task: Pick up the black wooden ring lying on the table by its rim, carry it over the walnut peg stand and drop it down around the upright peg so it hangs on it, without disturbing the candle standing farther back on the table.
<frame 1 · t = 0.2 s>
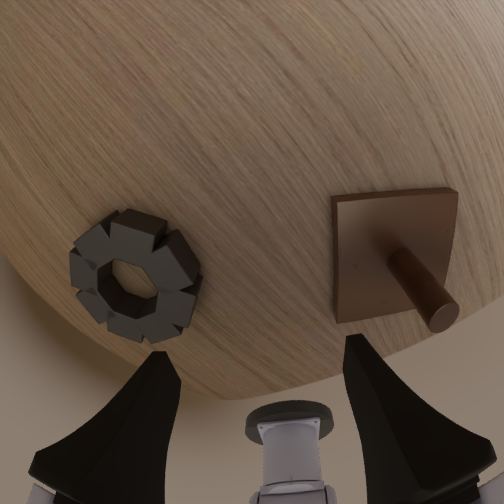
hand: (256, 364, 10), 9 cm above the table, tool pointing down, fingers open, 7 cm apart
ring: (138, 272, 19), on the table
peg stand: (393, 253, 17), on the table
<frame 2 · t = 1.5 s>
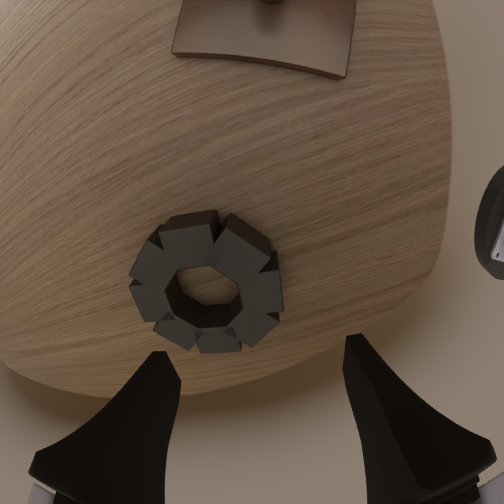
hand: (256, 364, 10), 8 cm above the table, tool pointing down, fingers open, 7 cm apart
ring: (209, 278, 18), on the table
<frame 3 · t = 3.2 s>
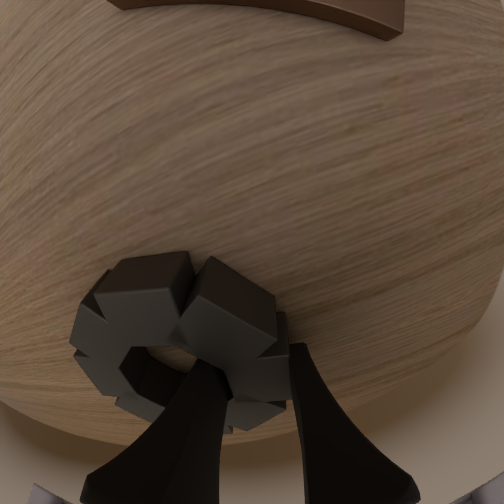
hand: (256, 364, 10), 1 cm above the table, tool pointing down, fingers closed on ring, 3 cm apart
ring: (185, 344, 12), on the table, touching gripper
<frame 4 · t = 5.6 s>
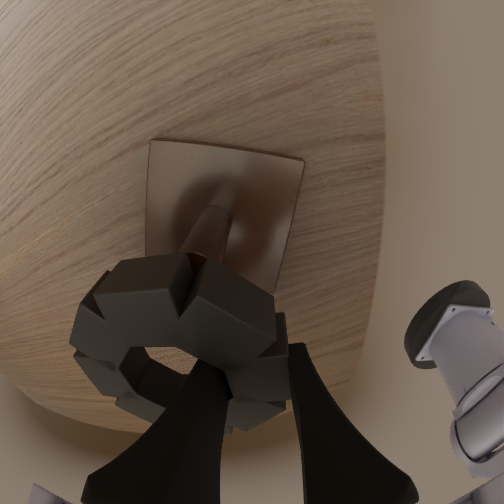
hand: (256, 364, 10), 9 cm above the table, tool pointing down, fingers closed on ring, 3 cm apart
ring: (185, 344, 12), point 8 cm above the table, touching gripper
peg stand: (218, 215, 18), on the table
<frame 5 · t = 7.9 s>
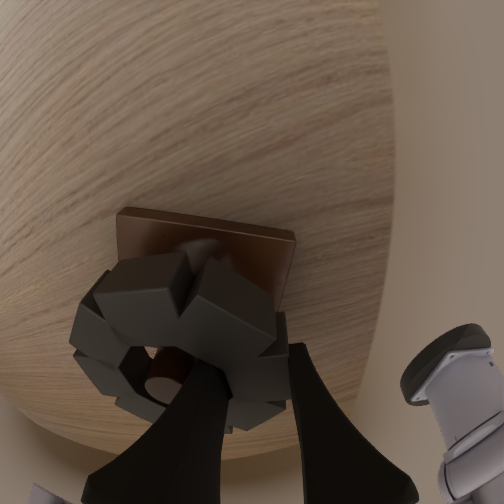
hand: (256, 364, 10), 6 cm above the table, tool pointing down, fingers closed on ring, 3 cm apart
ring: (185, 343, 12), point 4 cm above the table, touching gripper
peg stand: (199, 290, 16), on the table
when the fingers open (7 cm above the table, at t = 10.8 s): ring drops 4 cm, resting on peg stand.
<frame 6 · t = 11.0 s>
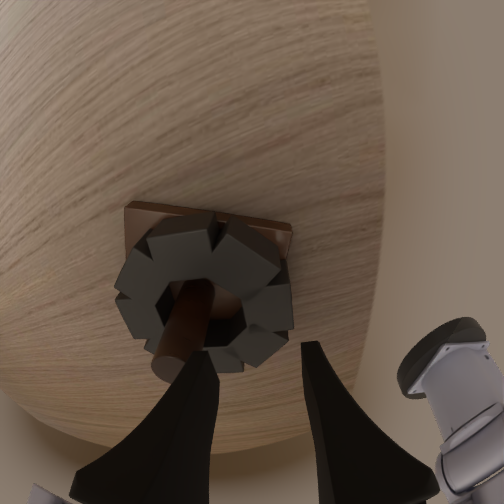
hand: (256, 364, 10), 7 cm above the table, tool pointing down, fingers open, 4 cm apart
ring: (207, 290, 16), point 1 cm above the table, touching peg stand
peg stand: (201, 280, 17), on the table
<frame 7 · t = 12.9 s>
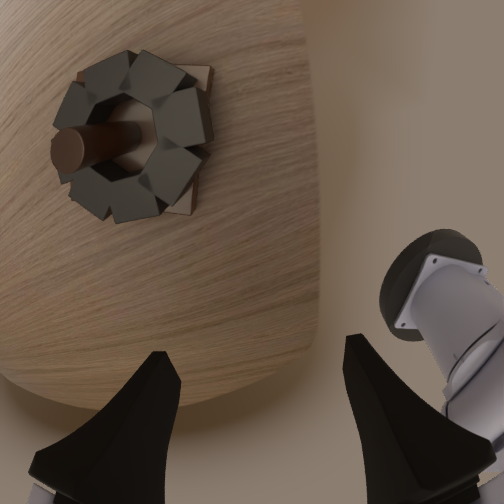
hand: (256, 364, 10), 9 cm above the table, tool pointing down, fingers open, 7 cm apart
ring: (134, 134, 14), point 1 cm above the table, touching peg stand
peg stand: (135, 135, 15), on the table
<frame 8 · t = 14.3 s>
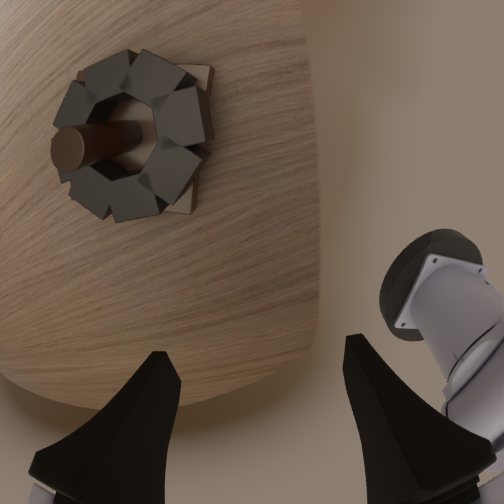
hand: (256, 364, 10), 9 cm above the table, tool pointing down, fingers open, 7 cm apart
ring: (135, 133, 14), point 1 cm above the table, touching peg stand
peg stand: (135, 134, 15), on the table
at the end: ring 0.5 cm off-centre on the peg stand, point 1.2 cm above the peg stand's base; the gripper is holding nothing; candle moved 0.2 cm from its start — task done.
